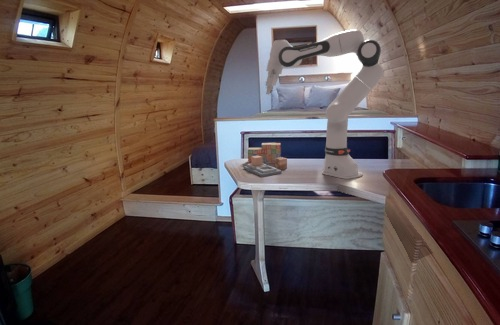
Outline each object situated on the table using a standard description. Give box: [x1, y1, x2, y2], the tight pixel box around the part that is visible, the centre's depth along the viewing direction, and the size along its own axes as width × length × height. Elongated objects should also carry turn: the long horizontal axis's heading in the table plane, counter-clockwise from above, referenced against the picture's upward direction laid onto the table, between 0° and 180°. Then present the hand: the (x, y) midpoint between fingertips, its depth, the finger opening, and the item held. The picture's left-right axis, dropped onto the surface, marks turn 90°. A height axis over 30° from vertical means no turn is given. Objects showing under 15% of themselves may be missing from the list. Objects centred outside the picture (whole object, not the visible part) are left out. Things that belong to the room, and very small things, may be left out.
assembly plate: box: [243, 156, 282, 178], centre depth 184 cm, size 22×13×8 cm, turn 29°
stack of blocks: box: [247, 142, 282, 164], centre depth 205 cm, size 21×6×12 cm, turn 85°
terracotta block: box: [274, 156, 288, 170], centre depth 189 cm, size 5×5×6 cm
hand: (268, 93), depth 182 cm, fingers open, 8 cm apart
